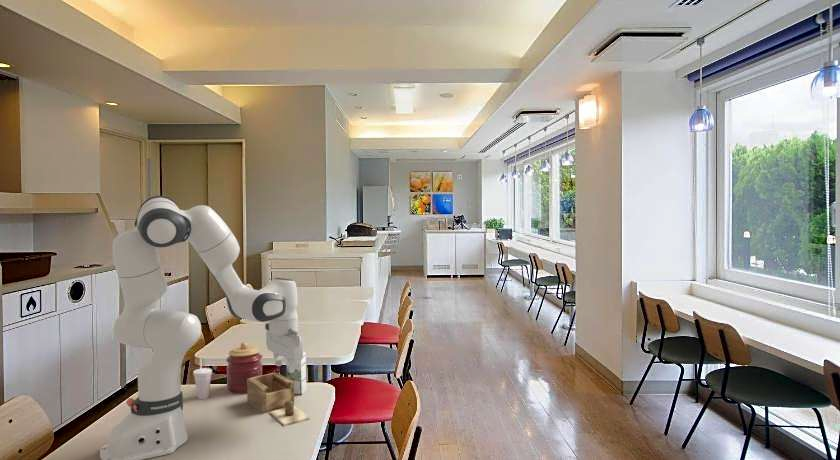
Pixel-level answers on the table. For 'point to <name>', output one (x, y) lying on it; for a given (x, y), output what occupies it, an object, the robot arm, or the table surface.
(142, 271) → the robot arm
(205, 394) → the smoothie
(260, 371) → the canister
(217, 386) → the table surface
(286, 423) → the lid
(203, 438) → the table surface
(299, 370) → the syrup box
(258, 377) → the lid box
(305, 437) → the table surface
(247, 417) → the table surface
